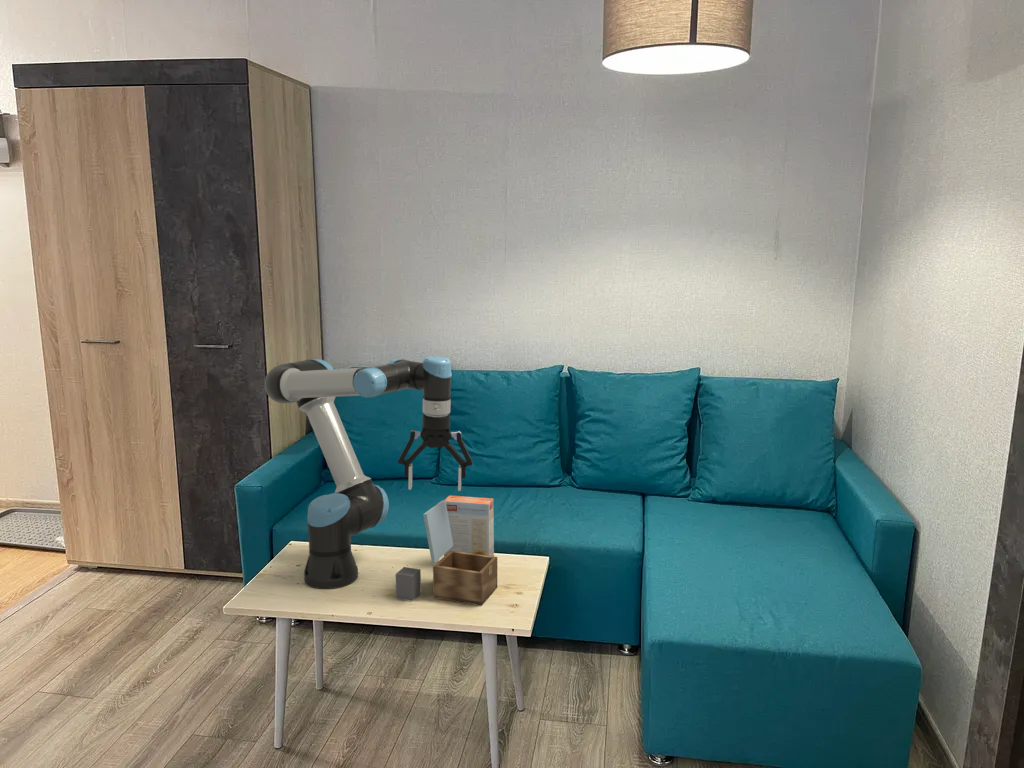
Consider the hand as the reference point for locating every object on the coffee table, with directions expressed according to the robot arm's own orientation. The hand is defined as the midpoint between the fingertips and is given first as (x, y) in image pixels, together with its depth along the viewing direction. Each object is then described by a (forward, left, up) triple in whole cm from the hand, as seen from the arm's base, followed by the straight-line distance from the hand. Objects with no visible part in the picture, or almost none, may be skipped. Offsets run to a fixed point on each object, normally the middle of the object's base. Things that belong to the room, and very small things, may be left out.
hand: (434, 488), depth 221 cm
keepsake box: (+10, -3, -28) cm, 30 cm away
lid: (+3, -3, -11) cm, 11 cm away
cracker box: (+4, +14, -28) cm, 31 cm away
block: (-4, -10, -28) cm, 30 cm away
